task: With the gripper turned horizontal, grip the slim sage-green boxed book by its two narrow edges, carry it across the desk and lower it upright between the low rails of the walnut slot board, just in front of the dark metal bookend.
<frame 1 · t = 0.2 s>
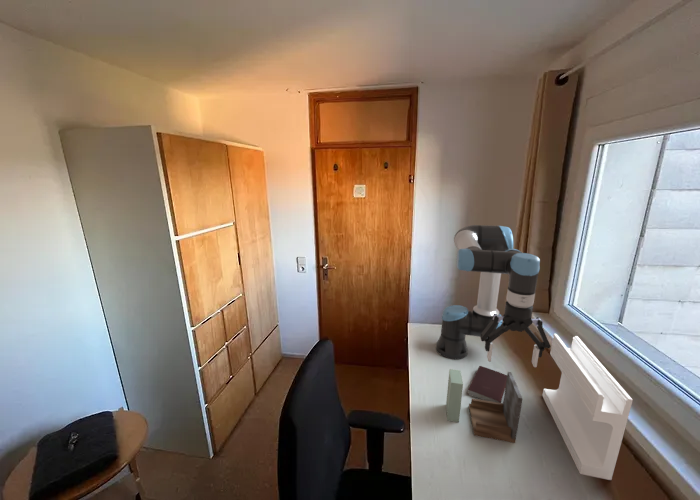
hand: (511, 361, 104), 27 cm above the table, tool pointing down, fingers open, 13 cm apart
book: (487, 388, 133), on the table
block: (571, 431, 110), on the table
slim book: (452, 413, 118), on the table
slot board: (490, 423, 113), on the table
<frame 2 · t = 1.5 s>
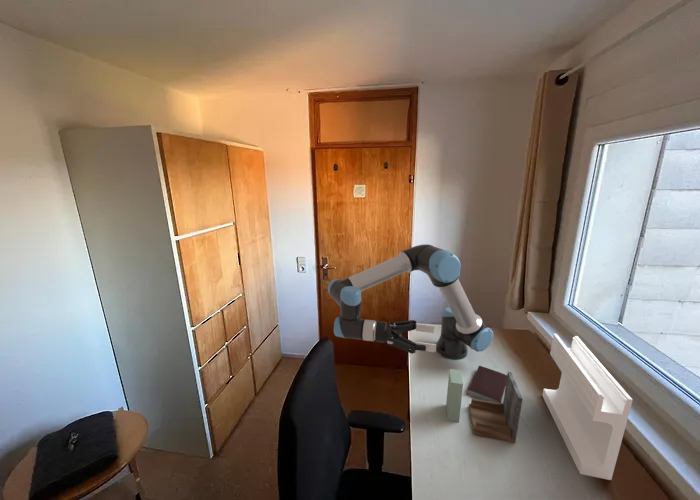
hand: (434, 338, 112), 30 cm above the table, tool horizontal, fingers open, 13 cm apart
nothing on the table moved.
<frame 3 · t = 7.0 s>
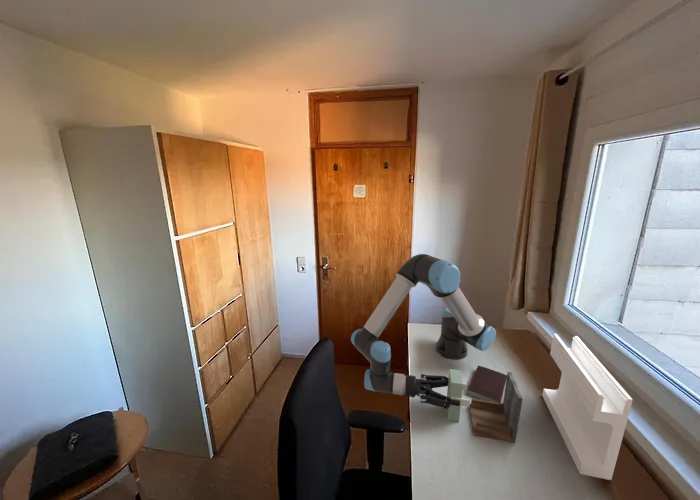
hand: (468, 394, 115), 9 cm above the table, tool horizontal, fingers closed on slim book, 8 cm apart
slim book: (452, 413, 118), on the table, touching gripper
everything else where it was.
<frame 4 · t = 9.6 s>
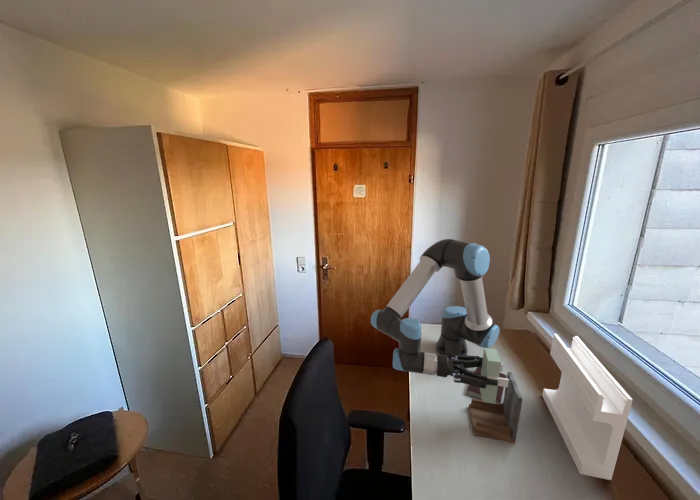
hand: (505, 374, 107), 21 cm above the table, tool horizontal, fingers closed on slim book, 8 cm apart
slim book: (487, 394, 111), point 12 cm above the table, touching gripper
everything else where it was.
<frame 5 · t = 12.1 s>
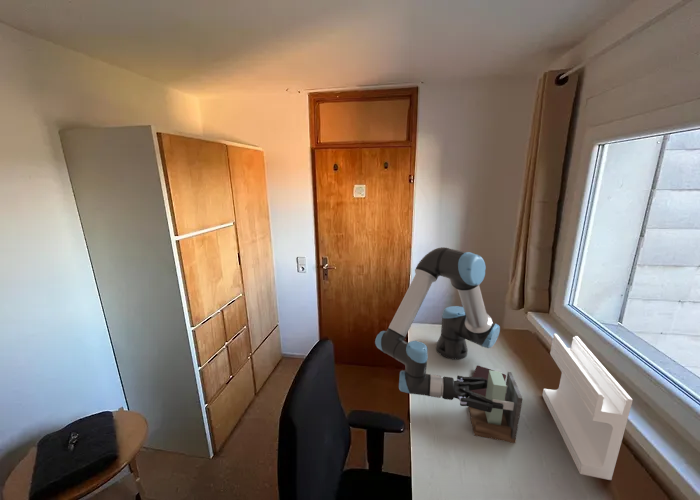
hand: (509, 397, 109), 12 cm above the table, tool horizontal, fingers closed on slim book, 8 cm apart
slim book: (492, 416, 113), point 3 cm above the table, touching gripper
everything else where it was.
when the fingers open (12 cm above the table, at t = 12.4 s): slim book drops 1 cm, resting on slot board.
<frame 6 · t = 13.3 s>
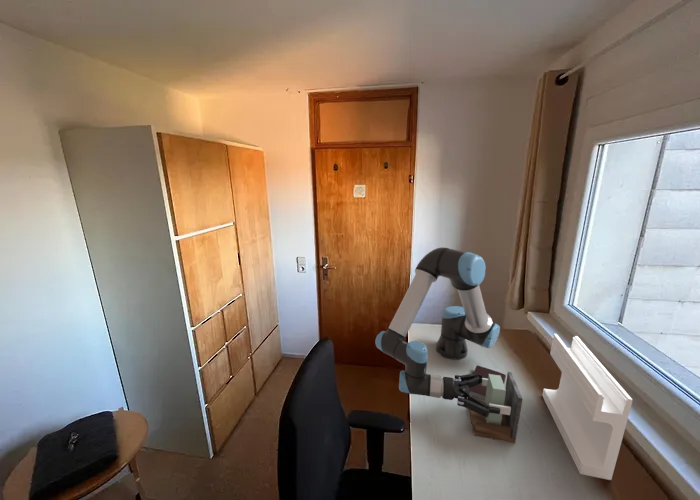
hand: (505, 396, 110), 12 cm above the table, tool horizontal, fingers open, 13 cm apart
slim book: (491, 420, 113), point 1 cm above the table, touching slot board
everything else where it was.
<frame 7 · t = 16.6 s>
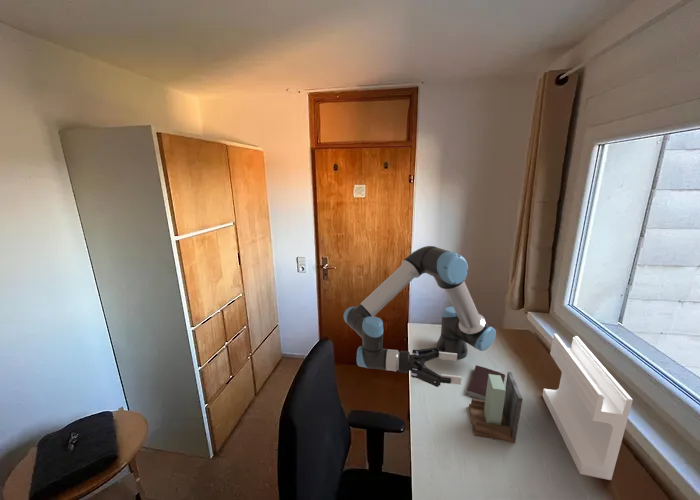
hand: (459, 368, 112), 20 cm above the table, tool horizontal, fingers open, 13 cm apart
nothing on the table moved.
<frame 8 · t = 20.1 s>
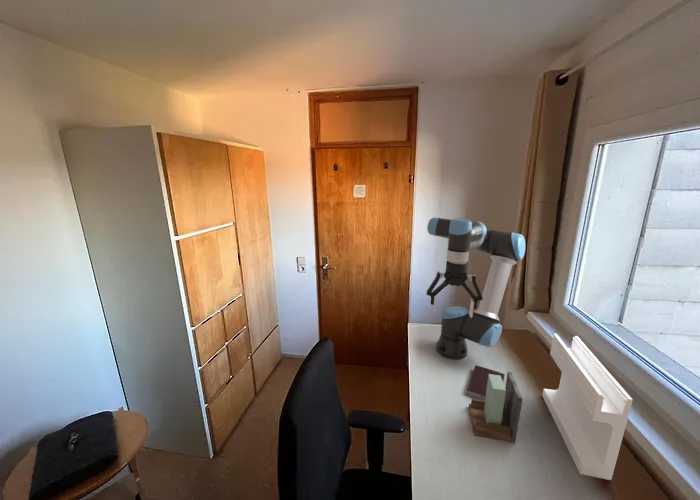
hand: (452, 314, 121), 35 cm above the table, tool pointing down, fingers open, 13 cm apart
nothing on the table moved.
at the end: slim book 0.3 cm off-centre on the slot board, point 1.5 cm above the slot board's base; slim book tilted 0°; the gripper is holding nothing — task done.
